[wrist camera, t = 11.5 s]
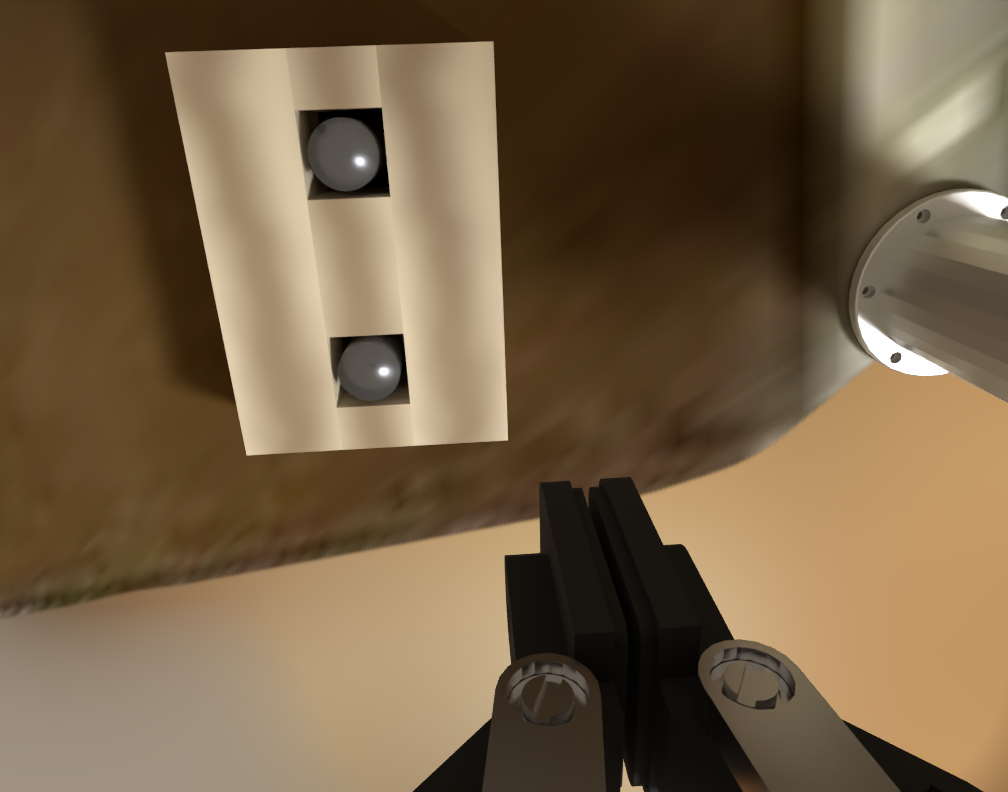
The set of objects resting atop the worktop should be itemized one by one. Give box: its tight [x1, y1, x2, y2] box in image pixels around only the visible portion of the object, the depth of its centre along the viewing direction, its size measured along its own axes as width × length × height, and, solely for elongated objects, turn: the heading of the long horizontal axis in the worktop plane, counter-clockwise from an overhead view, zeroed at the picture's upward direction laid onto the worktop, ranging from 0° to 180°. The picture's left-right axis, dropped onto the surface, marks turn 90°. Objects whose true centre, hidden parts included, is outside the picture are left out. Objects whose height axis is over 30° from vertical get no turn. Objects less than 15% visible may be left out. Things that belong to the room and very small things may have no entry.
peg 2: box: [338, 334, 405, 401], centre depth 42 cm, size 4×4×6 cm
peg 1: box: [308, 117, 387, 191], centre depth 37 cm, size 4×4×6 cm
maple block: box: [165, 41, 508, 455], centre depth 40 cm, size 16×22×6 cm
